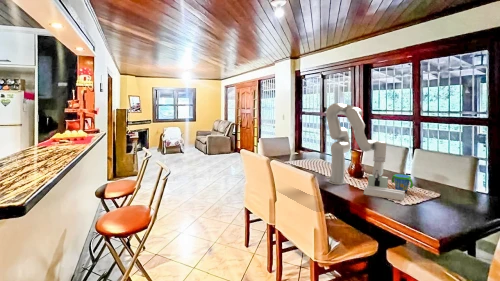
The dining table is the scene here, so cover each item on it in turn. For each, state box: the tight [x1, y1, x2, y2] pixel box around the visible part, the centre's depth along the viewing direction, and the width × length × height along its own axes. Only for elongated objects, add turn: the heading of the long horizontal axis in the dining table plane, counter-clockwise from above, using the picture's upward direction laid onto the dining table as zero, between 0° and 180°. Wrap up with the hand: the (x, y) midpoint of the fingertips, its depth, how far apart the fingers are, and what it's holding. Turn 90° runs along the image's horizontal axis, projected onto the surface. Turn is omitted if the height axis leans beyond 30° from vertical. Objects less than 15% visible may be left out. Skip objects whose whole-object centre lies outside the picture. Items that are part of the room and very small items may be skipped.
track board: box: [363, 185, 406, 201], centre depth 194 cm, size 23×10×4 cm, turn 55°
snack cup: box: [390, 173, 414, 192], centre depth 207 cm, size 16×10×10 cm
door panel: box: [367, 174, 389, 189], centre depth 207 cm, size 12×3×9 cm, turn 55°
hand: (377, 185), depth 207 cm, fingers closed on door panel, 3 cm apart
